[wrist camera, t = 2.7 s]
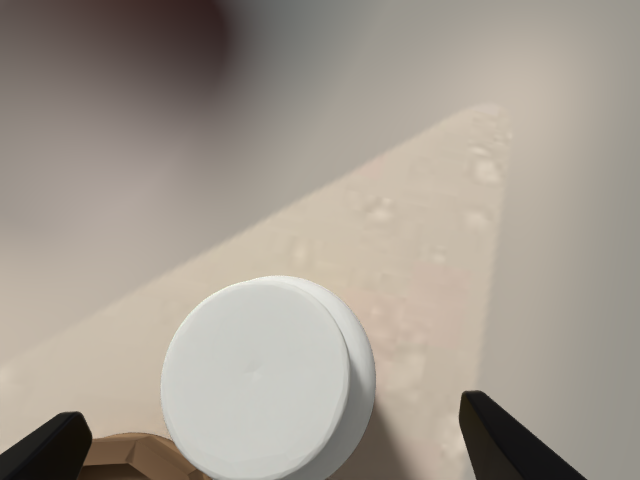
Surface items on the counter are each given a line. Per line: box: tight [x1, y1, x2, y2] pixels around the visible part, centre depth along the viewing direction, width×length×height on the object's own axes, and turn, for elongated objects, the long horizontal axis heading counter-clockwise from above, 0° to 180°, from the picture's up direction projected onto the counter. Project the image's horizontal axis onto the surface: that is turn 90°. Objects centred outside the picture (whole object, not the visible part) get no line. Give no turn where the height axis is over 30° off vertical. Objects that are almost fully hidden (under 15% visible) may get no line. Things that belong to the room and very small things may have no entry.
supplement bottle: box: [160, 276, 376, 480], centre depth 12 cm, size 6×6×10 cm
